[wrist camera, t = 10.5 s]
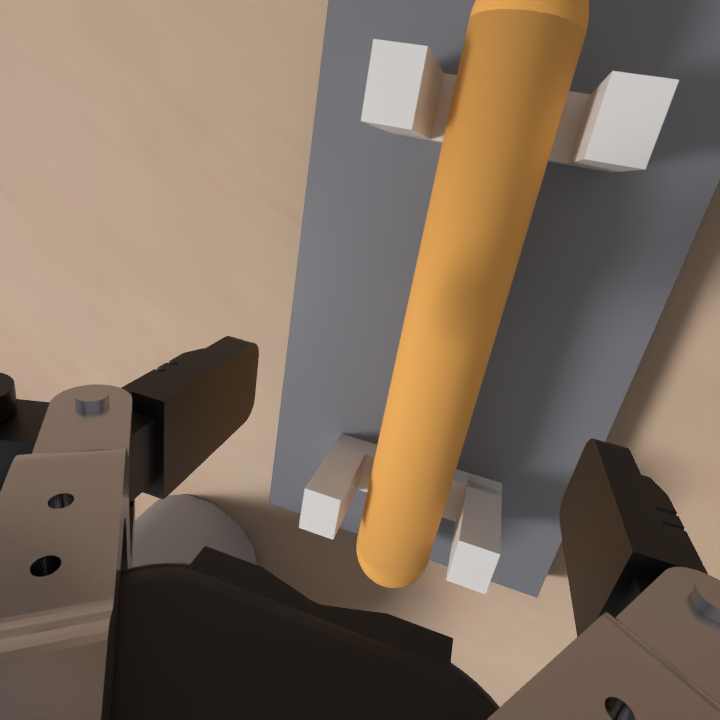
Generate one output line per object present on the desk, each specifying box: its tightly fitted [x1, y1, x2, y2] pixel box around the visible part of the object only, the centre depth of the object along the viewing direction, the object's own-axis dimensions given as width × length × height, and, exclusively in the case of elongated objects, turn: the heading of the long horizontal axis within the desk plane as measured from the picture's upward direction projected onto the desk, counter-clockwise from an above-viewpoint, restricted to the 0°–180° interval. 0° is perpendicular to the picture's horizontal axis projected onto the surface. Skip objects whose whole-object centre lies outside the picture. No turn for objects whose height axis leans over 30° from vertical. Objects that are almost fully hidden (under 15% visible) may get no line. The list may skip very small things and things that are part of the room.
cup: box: [133, 494, 257, 567], centre depth 26 cm, size 8×8×10 cm
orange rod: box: [356, 0, 589, 588], centre depth 17 cm, size 22×3×3 cm, turn 170°
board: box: [269, 0, 720, 597], centre depth 18 cm, size 14×24×6 cm, turn 170°
